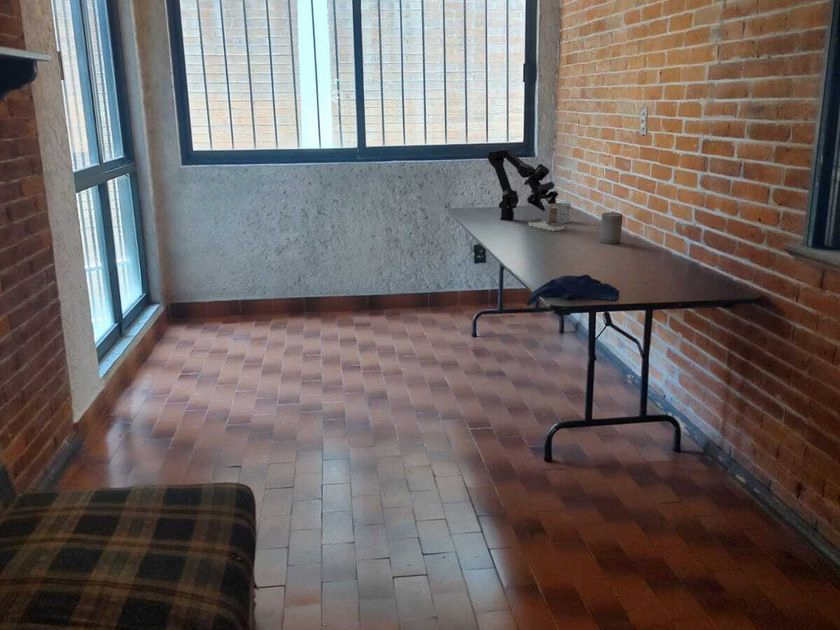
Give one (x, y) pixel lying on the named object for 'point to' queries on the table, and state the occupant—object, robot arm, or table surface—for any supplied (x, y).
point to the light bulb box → (563, 211)
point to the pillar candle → (611, 228)
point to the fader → (553, 214)
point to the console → (542, 224)
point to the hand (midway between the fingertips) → (550, 210)
